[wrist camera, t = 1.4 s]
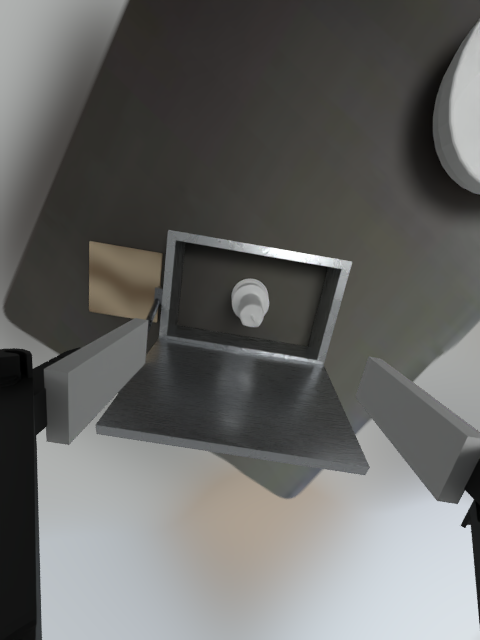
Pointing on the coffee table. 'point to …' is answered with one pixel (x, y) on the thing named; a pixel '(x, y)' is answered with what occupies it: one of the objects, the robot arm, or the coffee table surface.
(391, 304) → the coffee table surface
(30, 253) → the coffee table surface
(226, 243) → the case
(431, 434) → the robot arm
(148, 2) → the coffee table surface
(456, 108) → the bowl
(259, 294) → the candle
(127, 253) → the mat
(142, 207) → the coffee table surface
